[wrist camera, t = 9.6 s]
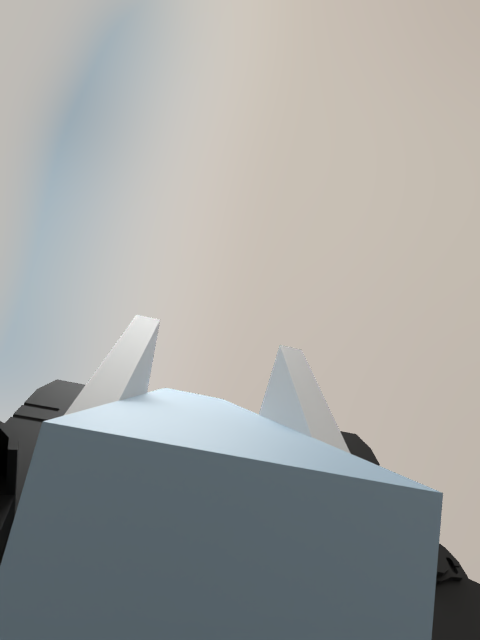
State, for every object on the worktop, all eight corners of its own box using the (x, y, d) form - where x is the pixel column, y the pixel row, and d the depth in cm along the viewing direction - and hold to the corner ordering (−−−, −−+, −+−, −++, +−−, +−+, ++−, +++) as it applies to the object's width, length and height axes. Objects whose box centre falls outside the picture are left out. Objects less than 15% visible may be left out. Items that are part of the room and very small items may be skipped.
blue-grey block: (413, 856, 3) (442, 493, 4) (-77, 830, 3) (42, 421, 3) (213, 443, 25) (222, 399, 25) (154, 432, 24) (165, 387, 25)
